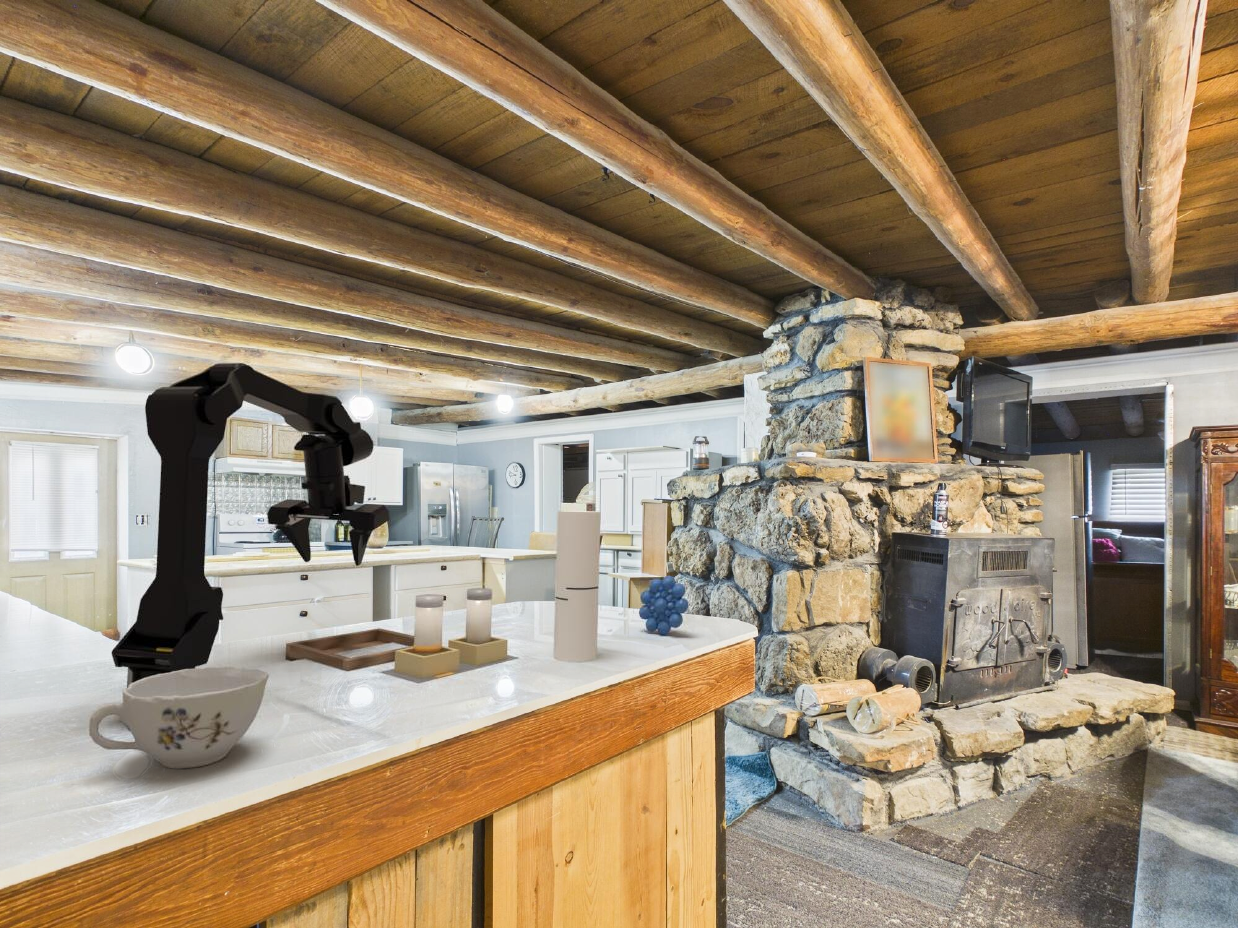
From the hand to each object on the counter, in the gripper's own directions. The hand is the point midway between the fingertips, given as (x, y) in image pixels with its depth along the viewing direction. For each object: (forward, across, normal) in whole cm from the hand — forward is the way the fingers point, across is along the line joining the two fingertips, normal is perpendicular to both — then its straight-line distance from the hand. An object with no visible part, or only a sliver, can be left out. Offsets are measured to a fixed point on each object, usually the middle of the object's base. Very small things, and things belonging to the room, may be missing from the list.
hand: (333, 563), depth 114 cm
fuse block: (+13, -24, +9) cm, 29 cm away
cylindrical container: (+15, -41, 0) cm, 44 cm away
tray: (+14, -7, +5) cm, 17 cm away
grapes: (+22, -54, -28) cm, 65 cm away
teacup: (+2, -11, +47) cm, 48 cm away
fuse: (+13, -26, +4) cm, 30 cm away
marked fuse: (+10, -22, +13) cm, 27 cm away
